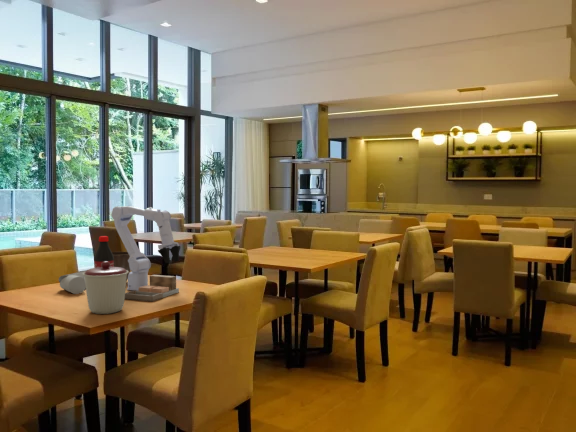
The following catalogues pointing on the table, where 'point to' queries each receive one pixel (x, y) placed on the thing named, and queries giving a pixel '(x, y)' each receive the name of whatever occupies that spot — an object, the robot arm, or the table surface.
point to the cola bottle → (103, 253)
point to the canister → (105, 288)
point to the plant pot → (121, 260)
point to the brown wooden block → (163, 281)
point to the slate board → (158, 293)
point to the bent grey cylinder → (73, 282)
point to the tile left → (146, 288)
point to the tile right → (159, 289)
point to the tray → (142, 296)
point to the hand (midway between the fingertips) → (172, 262)
